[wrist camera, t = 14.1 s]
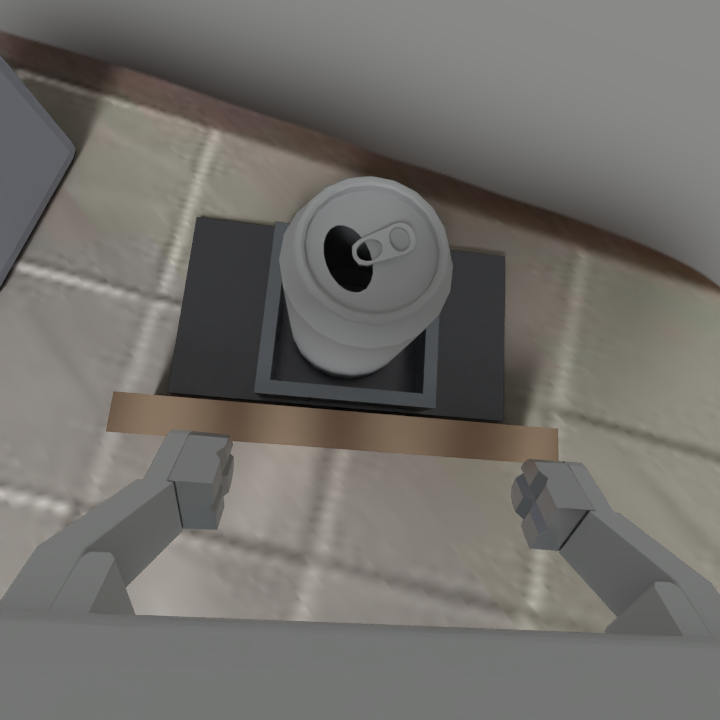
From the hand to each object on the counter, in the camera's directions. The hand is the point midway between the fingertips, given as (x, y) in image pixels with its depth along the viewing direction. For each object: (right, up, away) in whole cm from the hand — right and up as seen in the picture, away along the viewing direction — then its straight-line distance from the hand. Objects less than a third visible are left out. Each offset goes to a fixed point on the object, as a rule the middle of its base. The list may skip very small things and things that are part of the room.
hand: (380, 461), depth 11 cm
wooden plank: (-2, -2, +15) cm, 15 cm away
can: (-1, +5, +16) cm, 17 cm away
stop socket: (-1, +5, +16) cm, 17 cm away
